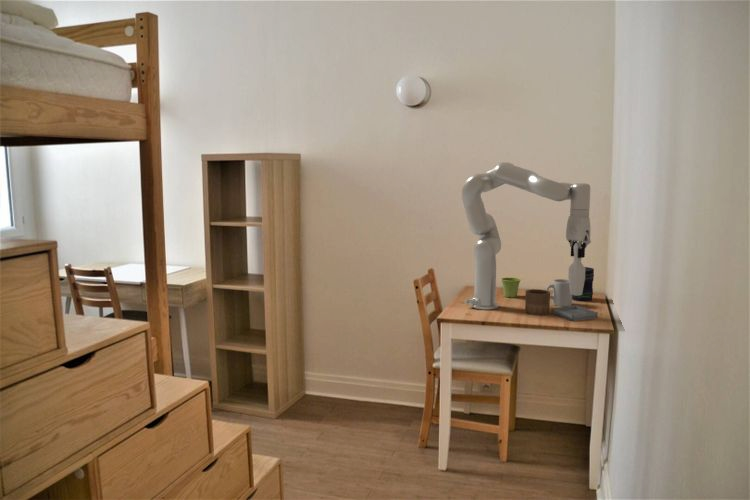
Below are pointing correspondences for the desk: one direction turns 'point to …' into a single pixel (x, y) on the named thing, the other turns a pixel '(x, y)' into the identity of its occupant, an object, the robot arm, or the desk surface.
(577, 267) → the faceted bottle
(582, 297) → the storage jar
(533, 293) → the holder
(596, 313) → the tray
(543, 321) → the desk surface
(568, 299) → the mug
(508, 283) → the plant pot
